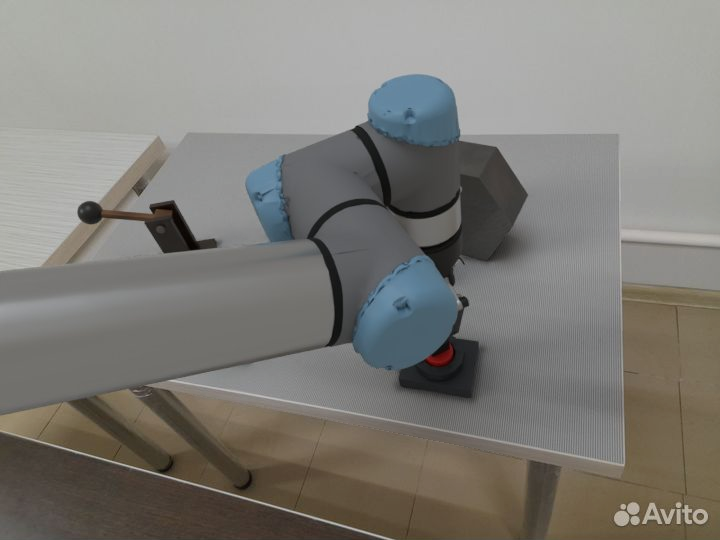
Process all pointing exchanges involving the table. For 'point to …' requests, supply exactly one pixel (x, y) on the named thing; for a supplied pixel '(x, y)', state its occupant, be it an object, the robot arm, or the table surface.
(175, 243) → the rod bracket
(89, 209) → the lever
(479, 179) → the planter
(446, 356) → the button
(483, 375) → the table surface
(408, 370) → the button box
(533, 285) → the table surface
